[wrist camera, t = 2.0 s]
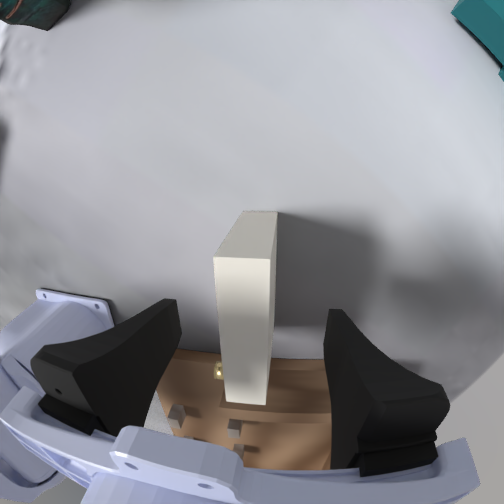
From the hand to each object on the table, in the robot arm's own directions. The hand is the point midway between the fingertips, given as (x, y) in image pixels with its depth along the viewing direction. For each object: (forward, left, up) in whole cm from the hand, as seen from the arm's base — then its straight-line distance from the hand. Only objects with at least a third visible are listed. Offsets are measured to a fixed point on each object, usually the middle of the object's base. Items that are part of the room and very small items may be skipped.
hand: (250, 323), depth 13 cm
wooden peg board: (0, -17, -5) cm, 18 cm away
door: (0, 0, -5) cm, 5 cm away
